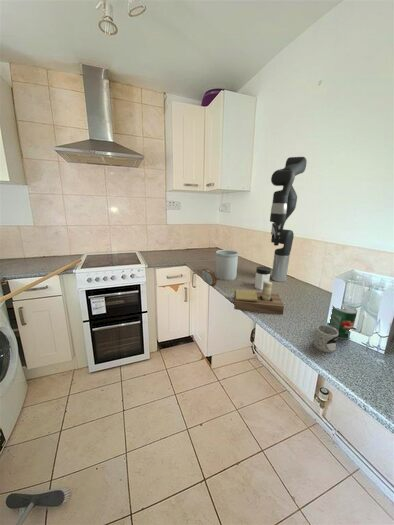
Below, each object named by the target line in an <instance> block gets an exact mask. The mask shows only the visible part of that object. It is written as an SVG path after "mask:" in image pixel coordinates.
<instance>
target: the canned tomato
mask: <svg viewBox="0 0 394 525" xmlns="http://www.w3.org/2000/svg"><path fill="white" fill-rule="evenodd" d="M332 308H333V309H332ZM332 308H331V312H332V314H331V313H330V317H331V319H329V321H330V323H329V322H328V326H330V327H332V328H336V330H337V331H338V333H339V334H338V338H337V339H341V340H349V339H348V333H349V330H350V329H352V328H353V329H354V326H355V323H356V322H355V321H356V318H357V314H358V309H356V308H355V309H348V308H344V309H343V308H342V309H339V308H335V307H334V306H333V305H332Z"/></svg>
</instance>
